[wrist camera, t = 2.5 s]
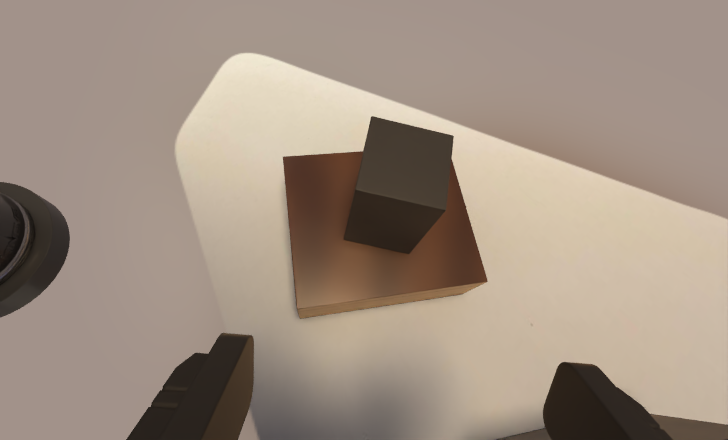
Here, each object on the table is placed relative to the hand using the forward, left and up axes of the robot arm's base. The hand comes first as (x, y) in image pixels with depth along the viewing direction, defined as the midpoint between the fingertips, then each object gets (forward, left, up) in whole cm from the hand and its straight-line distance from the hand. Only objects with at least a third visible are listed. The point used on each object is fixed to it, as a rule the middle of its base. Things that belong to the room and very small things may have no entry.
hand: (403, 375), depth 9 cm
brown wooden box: (+4, +10, -19) cm, 22 cm away
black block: (+4, +10, -14) cm, 18 cm away
